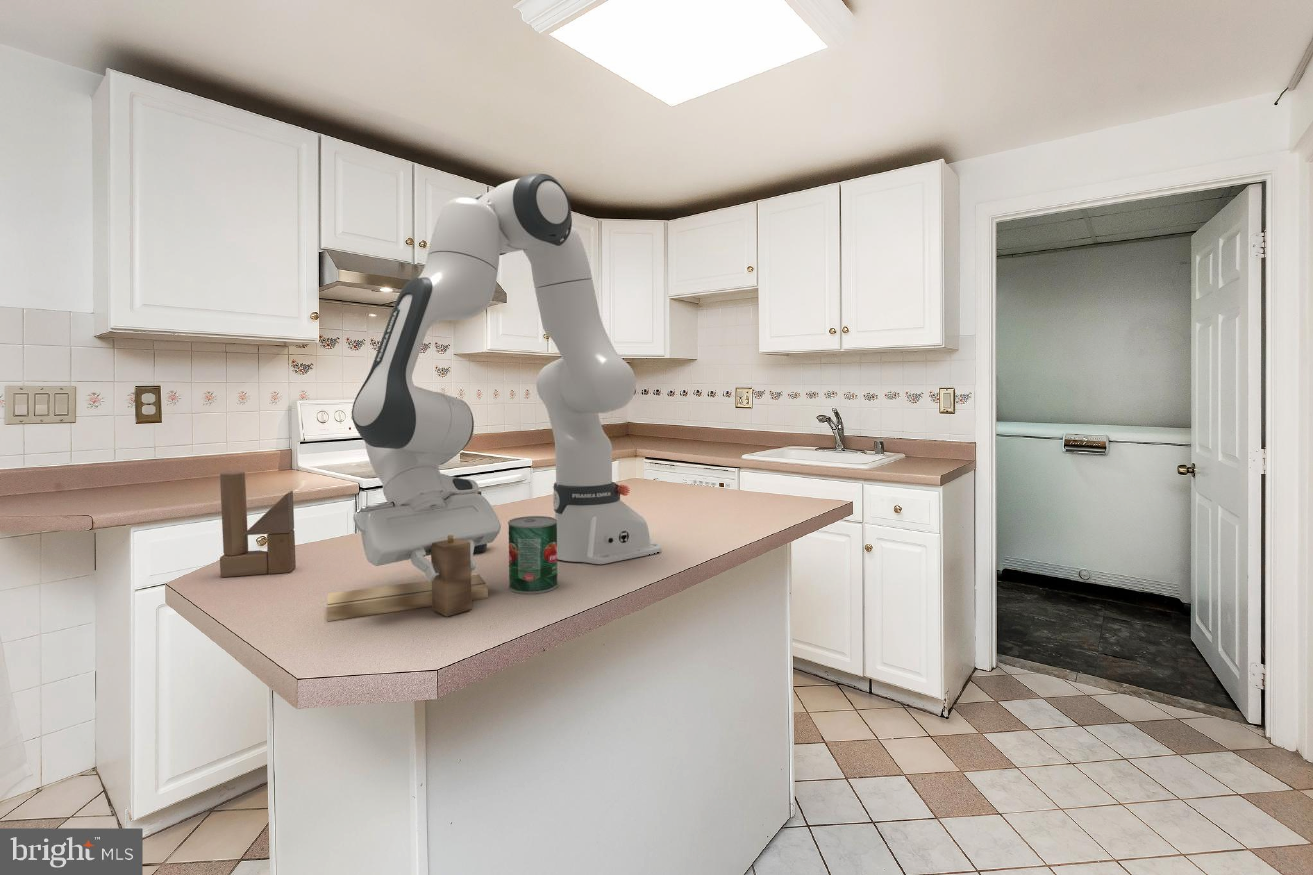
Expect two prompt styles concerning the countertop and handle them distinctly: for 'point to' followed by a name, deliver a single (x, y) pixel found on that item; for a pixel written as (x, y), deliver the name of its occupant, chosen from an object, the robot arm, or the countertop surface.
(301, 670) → the countertop surface
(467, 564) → the block
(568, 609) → the countertop surface
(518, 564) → the canned tomato
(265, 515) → the wooden block structure
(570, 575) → the countertop surface
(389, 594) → the board
